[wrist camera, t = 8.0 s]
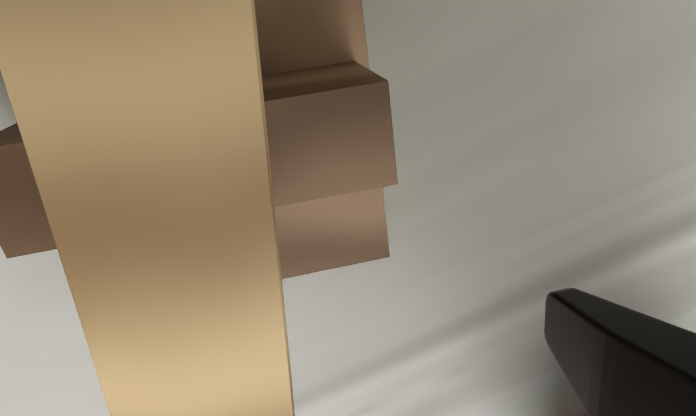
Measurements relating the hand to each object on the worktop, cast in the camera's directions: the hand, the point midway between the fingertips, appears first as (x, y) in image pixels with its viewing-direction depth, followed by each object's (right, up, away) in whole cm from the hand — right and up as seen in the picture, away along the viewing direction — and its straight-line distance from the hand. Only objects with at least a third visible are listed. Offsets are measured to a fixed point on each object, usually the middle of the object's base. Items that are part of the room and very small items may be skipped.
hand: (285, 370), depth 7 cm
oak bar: (-3, +4, +5) cm, 7 cm away
